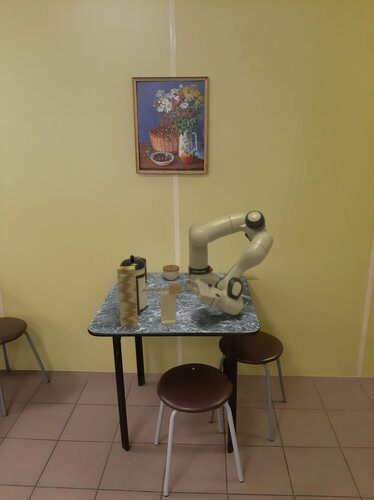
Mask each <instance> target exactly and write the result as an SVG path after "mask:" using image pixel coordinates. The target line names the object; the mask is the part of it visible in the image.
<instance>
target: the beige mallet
mask: <svg viewBox="0 0 374 500" xmlns="http://www.w3.org/2000/svg"><path fill="white" fill-rule="evenodd" d="M160 291H161V292H167V291H168V292H169V293H170V294H175V295H181V285H180V282H174V283H173V282H172V283H170V282H169V283H168V287H155V288H153V287H151V288H146V289H142V292H146V293H147V292H160Z"/></svg>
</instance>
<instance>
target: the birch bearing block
mask: <svg viewBox="0 0 374 500" xmlns="http://www.w3.org/2000/svg"><path fill="white" fill-rule="evenodd" d="M116 273H117V275H116V276H117V287H118V288H117V289H118V290H117V291H118V302H119V303H118V305H119V306H118V307H119V321H120V327H137V326H138V325H139V321H138V320H139V317H138V316H139V315H138V314H137V295H136V275H135V266H121V267H120V266H117V269H116Z"/></svg>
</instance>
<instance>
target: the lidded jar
mask: <svg viewBox="0 0 374 500" xmlns="http://www.w3.org/2000/svg"><path fill="white" fill-rule="evenodd" d="M162 273H163V276H164V278H165V279H166V280H167V281H175V280H176V279H177V278H178V277H179V275H180V266H179V265H176V264H167V265H164V266H162Z"/></svg>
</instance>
